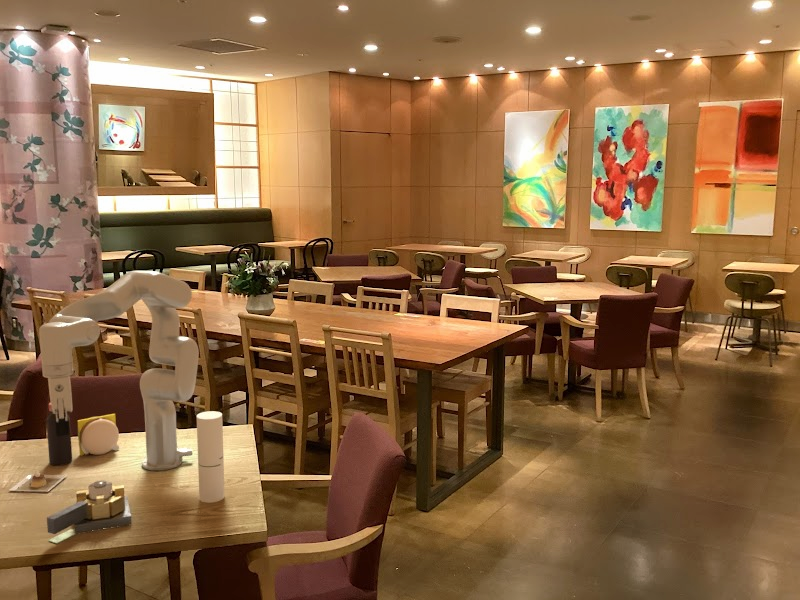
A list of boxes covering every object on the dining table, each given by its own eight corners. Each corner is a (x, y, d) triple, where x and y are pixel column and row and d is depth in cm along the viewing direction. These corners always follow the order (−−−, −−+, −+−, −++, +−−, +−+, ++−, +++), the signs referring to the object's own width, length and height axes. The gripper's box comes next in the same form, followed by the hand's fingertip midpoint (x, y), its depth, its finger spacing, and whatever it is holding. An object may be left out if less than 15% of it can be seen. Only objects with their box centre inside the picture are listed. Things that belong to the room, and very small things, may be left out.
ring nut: (101, 496, 212) (100, 477, 211) (134, 504, 207) (133, 485, 206) (34, 530, 191) (32, 509, 191) (68, 539, 187) (67, 518, 186)
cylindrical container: (229, 494, 221) (227, 412, 216) (215, 504, 214) (213, 420, 210) (208, 490, 223) (205, 410, 219) (194, 500, 216) (191, 417, 212)
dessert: (29, 477, 232) (28, 462, 231) (67, 478, 232) (66, 463, 231) (8, 494, 220) (7, 478, 220) (48, 494, 220) (47, 479, 219)
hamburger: (84, 460, 245) (82, 425, 243) (77, 452, 251) (75, 418, 249) (122, 452, 252) (120, 418, 250) (114, 445, 259) (112, 412, 257)
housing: (127, 503, 213) (125, 469, 212) (132, 530, 198) (130, 494, 196) (48, 516, 205) (46, 480, 204) (48, 545, 189) (45, 507, 188)
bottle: (45, 462, 243) (41, 402, 240) (66, 456, 248) (63, 398, 245) (54, 467, 239) (50, 407, 235) (75, 461, 244) (72, 402, 240)
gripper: (74, 374, 194) (79, 441, 197) (72, 360, 207) (77, 424, 210) (42, 377, 191) (47, 446, 194) (42, 363, 204) (47, 427, 207)
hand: (63, 434), depth 202 cm, fingers closed
